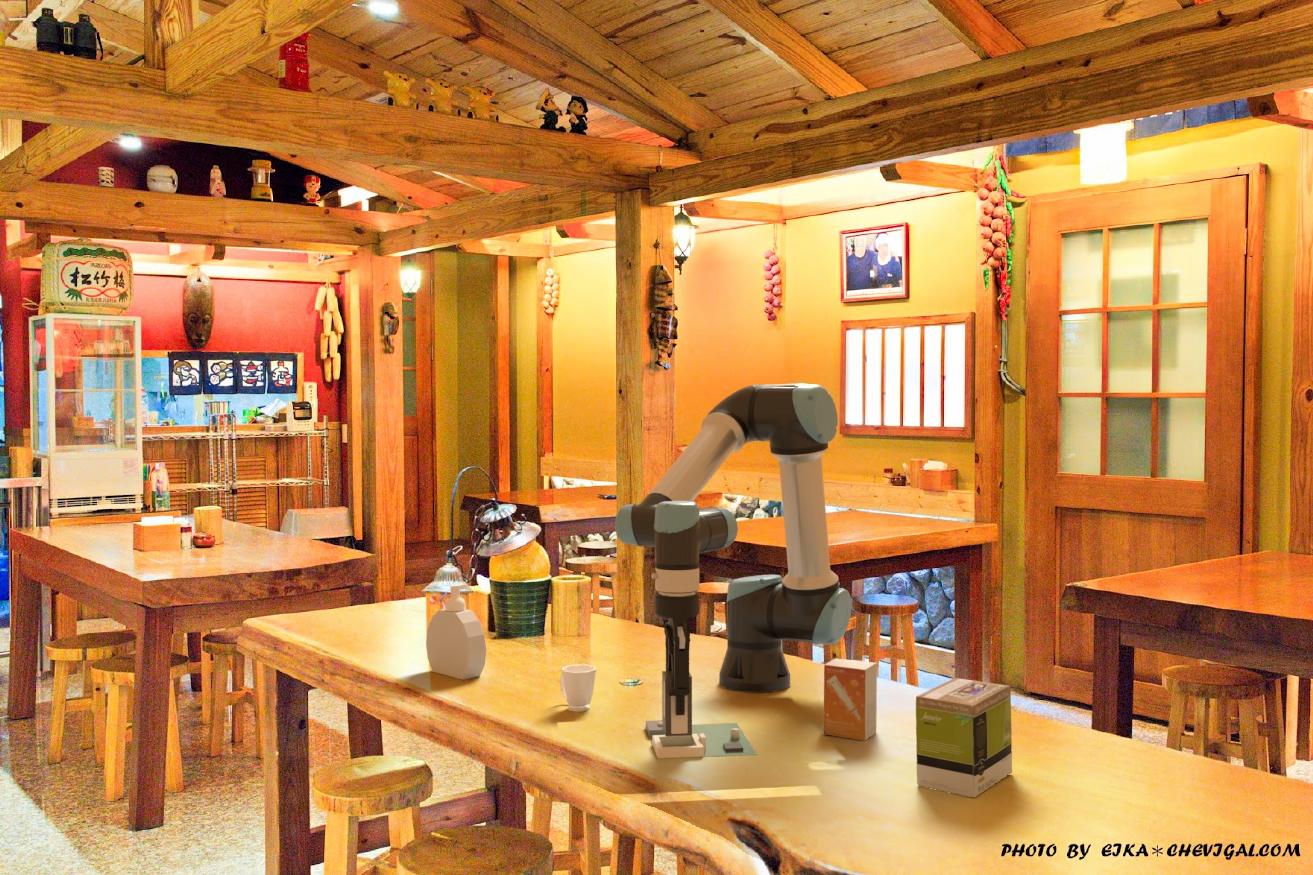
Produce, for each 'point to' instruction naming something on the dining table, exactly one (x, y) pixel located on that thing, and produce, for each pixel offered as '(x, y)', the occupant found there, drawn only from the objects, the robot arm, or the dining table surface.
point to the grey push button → (654, 728)
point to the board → (721, 740)
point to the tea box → (963, 736)
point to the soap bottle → (456, 639)
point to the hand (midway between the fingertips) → (677, 728)
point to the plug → (667, 705)
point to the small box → (850, 698)
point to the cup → (578, 686)
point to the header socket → (679, 751)
